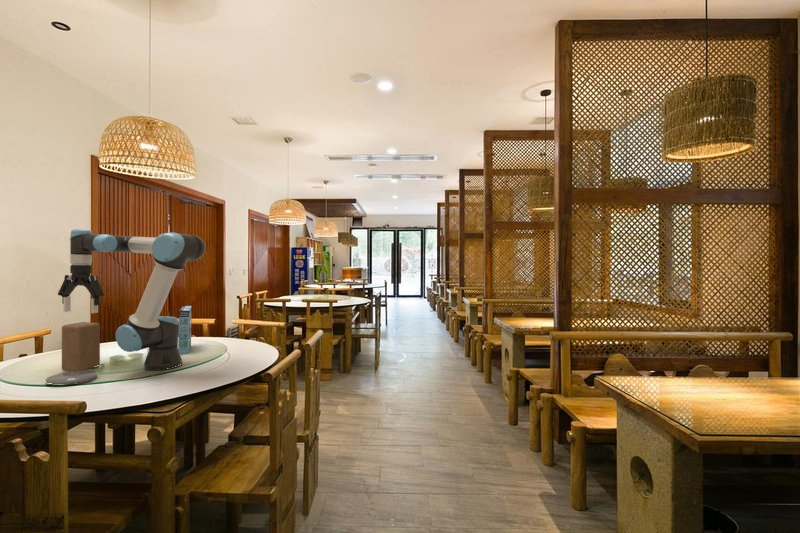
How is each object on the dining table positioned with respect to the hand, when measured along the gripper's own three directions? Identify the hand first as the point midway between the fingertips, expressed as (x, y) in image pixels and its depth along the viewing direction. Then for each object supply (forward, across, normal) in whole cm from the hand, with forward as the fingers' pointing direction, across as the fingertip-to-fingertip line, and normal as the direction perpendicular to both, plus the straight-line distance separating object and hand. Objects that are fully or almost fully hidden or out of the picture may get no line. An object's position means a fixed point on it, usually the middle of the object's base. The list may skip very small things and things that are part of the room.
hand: (80, 312), depth 177 cm
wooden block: (+25, 0, 0) cm, 25 cm away
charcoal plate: (+25, -12, +16) cm, 32 cm away
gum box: (+25, -22, -40) cm, 52 cm away
